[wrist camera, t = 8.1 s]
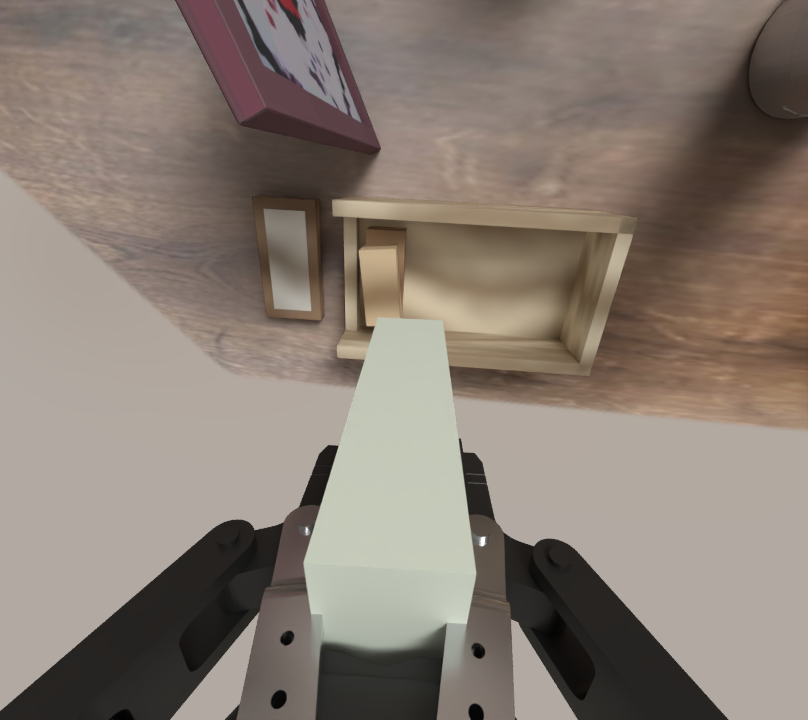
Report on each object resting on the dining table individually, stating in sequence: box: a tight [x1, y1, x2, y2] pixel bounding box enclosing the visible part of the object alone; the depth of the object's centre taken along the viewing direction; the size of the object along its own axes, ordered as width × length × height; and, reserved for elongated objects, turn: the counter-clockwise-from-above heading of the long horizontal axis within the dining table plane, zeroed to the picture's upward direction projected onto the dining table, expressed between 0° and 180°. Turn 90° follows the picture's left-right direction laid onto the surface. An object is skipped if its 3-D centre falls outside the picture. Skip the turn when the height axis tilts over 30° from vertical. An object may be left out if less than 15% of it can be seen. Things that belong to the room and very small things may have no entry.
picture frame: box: [175, 0, 381, 154], centre depth 21 cm, size 17×10×25 cm, turn 23°
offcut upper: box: [359, 244, 402, 326], centre depth 35 cm, size 7×3×2 cm, turn 3°
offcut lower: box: [366, 226, 407, 314], centre depth 37 cm, size 9×4×2 cm, turn 177°
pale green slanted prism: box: [303, 317, 476, 667], centre depth 14 cm, size 9×3×12 cm, turn 178°
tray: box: [332, 196, 638, 376], centre depth 36 cm, size 14×24×7 cm, turn 87°
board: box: [252, 196, 324, 320], centre depth 38 cm, size 12×6×2 cm, turn 177°
